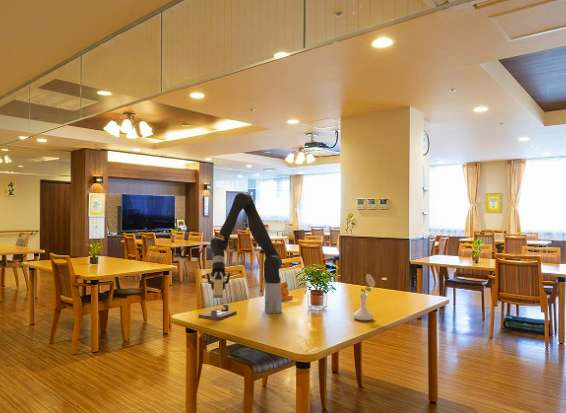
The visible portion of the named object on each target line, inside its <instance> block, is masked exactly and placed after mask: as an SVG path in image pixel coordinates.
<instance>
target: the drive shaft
mask: <svg viewBox="0 0 566 413" xmlns="http://www.w3.org/2000/svg"><path fill="white" fill-rule="evenodd" d="M222 306H223V307H221V308H220V309H221V311H225V310H229V306H230V305H229V304H226V303H225V304H223V305H222Z"/></svg>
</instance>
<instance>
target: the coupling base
mask: <svg viewBox="0 0 566 413" xmlns="http://www.w3.org/2000/svg"><path fill="white" fill-rule="evenodd" d="M212 310H215V311H217V316H216V317H214V316H211V311H212ZM235 315H237V310H230V309H228V310H225V311H221V308H214V309H211V310H209V311H205V312H202V313H199V314H198V318H201V319H208V320H214V321H222V320H224V319H227V318H229V317H231V316H232V317H233V316H235Z"/></svg>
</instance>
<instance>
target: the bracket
mask: <svg viewBox="0 0 566 413" xmlns="http://www.w3.org/2000/svg"><path fill="white" fill-rule="evenodd" d="M288 287H289V284H288V282H287V281H282V280H281V288H280V295H282V302H285V300H286V301H291V299H293V298H294V297H293V296H294V295H293V294H289V290H288Z"/></svg>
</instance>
